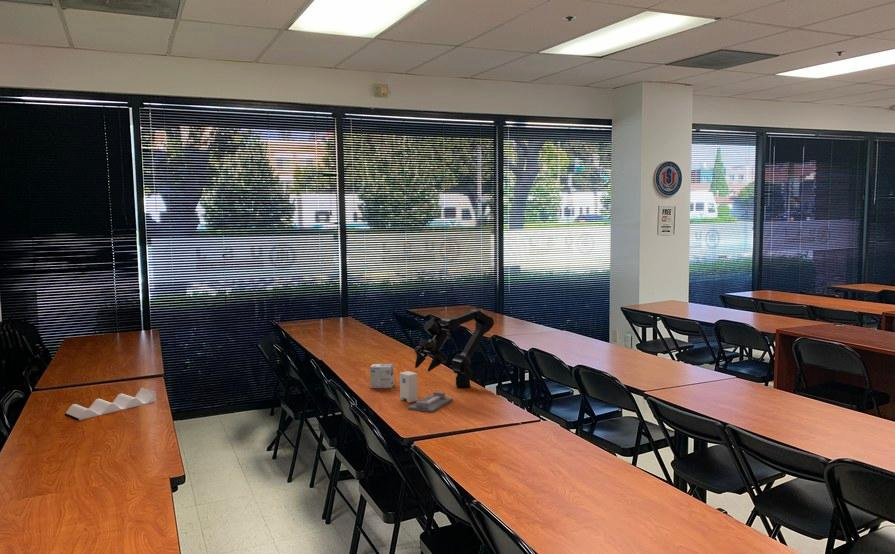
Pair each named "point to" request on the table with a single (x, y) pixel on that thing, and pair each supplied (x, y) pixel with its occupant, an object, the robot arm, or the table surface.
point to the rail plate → (431, 402)
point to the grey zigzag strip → (111, 405)
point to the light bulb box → (381, 376)
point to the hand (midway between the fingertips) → (421, 369)
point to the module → (408, 386)
